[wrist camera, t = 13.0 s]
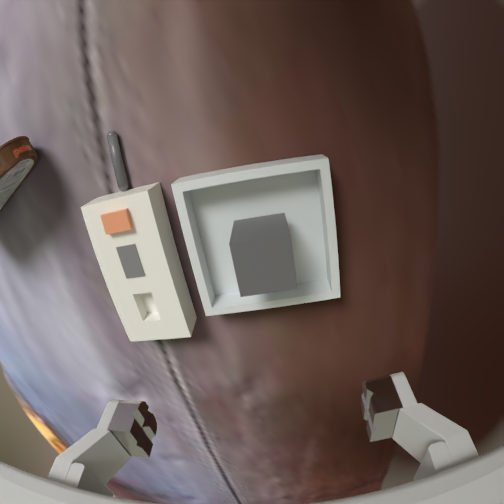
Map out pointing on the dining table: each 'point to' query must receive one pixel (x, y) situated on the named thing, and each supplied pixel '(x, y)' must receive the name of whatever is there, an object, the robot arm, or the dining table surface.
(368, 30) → the dining table surface
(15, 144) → the tin
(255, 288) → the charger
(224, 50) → the dining table surface
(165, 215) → the power strip
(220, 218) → the tray
